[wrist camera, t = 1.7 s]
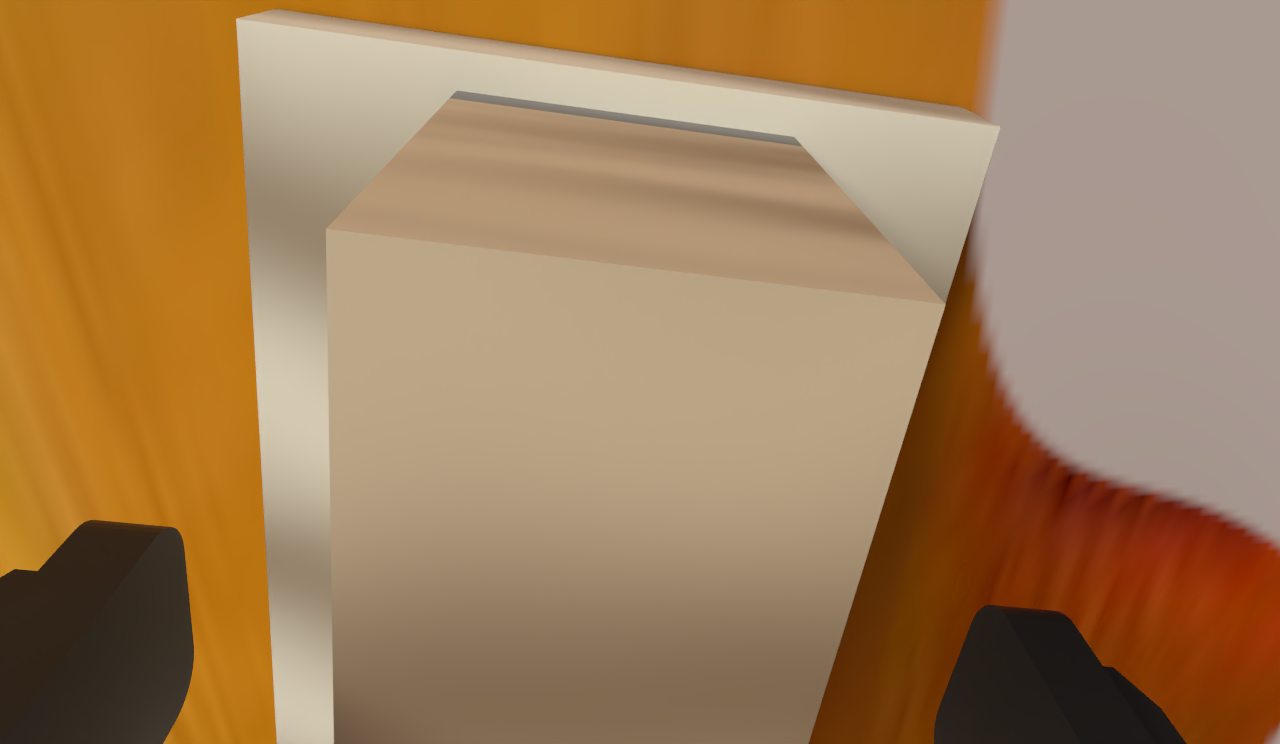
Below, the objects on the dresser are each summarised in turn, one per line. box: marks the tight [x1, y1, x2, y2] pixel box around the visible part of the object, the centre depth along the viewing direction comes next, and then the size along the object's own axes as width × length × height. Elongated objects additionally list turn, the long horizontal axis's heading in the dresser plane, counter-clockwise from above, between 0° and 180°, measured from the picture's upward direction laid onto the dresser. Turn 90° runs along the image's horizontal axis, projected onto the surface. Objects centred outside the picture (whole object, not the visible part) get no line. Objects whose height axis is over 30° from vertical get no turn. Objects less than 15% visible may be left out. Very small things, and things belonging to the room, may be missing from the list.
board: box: [236, 9, 1000, 744], centre depth 16 cm, size 18×10×2 cm, turn 172°
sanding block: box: [326, 91, 946, 744], centre depth 11 cm, size 8×4×6 cm, turn 172°
